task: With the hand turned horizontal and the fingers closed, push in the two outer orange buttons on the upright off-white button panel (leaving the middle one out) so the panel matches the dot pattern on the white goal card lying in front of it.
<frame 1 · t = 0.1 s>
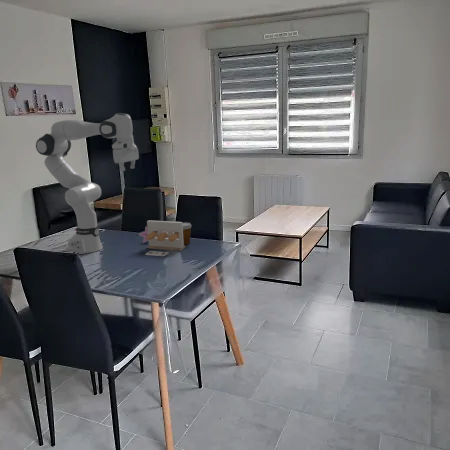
hand: (128, 169, 232), 48 cm above the table, tool pointing down, fingers open, 8 cm apart
lily: (149, 242, 265), on the table
panel: (166, 247, 251), on the table
button middle: (162, 236, 246), point 8 cm above the table, slide at 0.0 cm
button left: (151, 235, 248), point 8 cm above the table, slide at 0.0 cm
button right: (173, 237, 244), point 8 cm above the table, slide at 0.0 cm
disposable coffee cup: (184, 243, 259), on the table
goal card: (157, 253, 240), on the table
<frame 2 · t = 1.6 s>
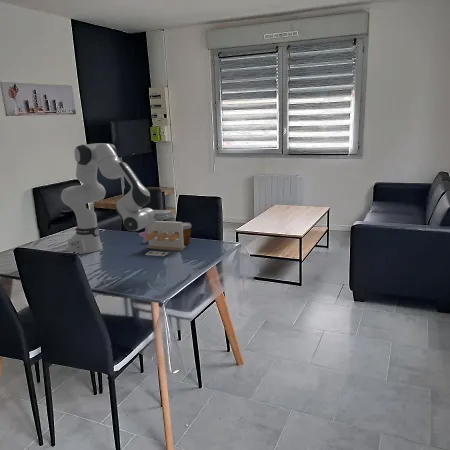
hand: (159, 211, 225), 27 cm above the table, tool horizontal, fingers open, 8 cm apart
nothing on the table moved.
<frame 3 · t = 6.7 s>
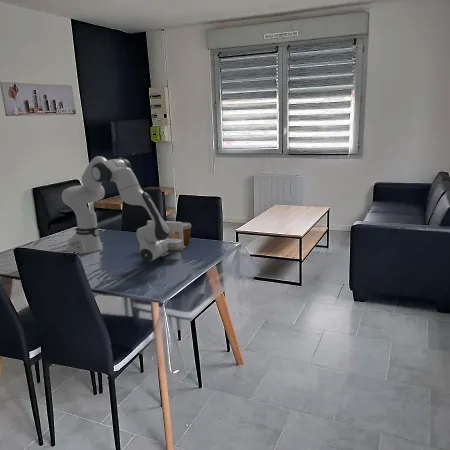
hand: (171, 238, 241), 8 cm above the table, tool horizontal, fingers closed, pressing on button right
button right: (173, 236, 244), point 8 cm above the table, slide at 0.6 cm, touching gripper
everything else where it was.
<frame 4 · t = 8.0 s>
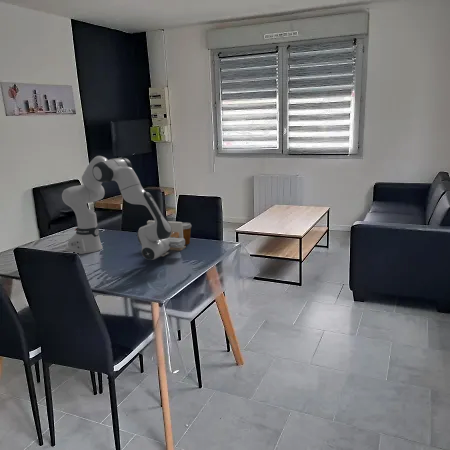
hand: (172, 237, 243), 8 cm above the table, tool horizontal, fingers closed
button right: (175, 235, 246), point 8 cm above the table, slide at 2.6 cm
everything else where it was.
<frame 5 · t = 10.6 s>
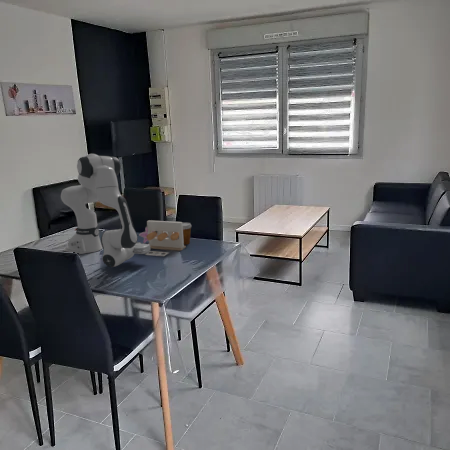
hand: (138, 243, 234), 8 cm above the table, tool horizontal, fingers closed
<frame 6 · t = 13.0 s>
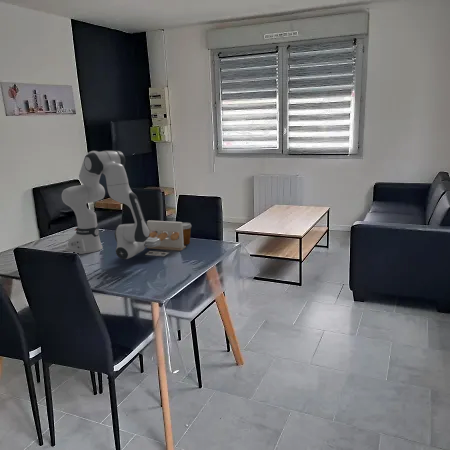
hand: (149, 237, 245), 8 cm above the table, tool horizontal, fingers closed, pressing on button left
button left: (151, 235, 248), point 8 cm above the table, slide at 0.2 cm, touching gripper
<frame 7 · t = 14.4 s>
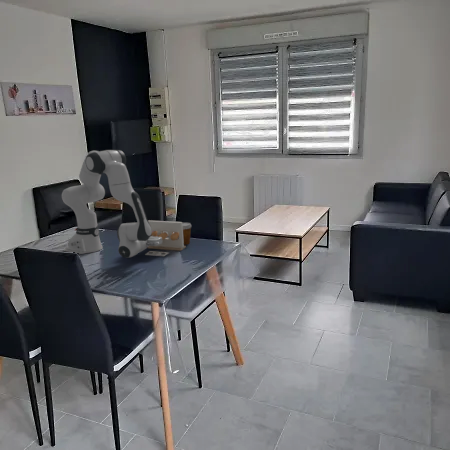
hand: (151, 236, 247), 8 cm above the table, tool horizontal, fingers closed
button left: (154, 234, 251), point 8 cm above the table, slide at 2.7 cm
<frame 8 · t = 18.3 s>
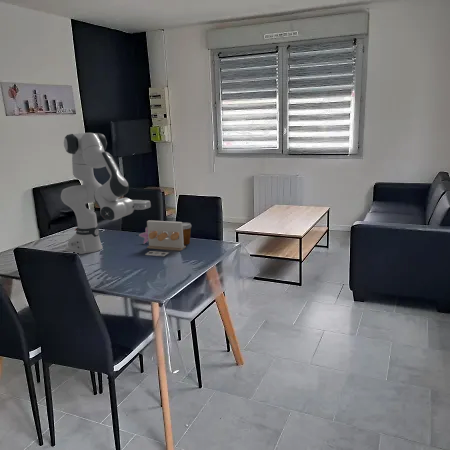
hand: (138, 201, 226), 32 cm above the table, tool horizontal, fingers closed
at the end: button right slide at 2.6 cm; button left slide at 2.7 cm; button middle slide at 0.0 cm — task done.
